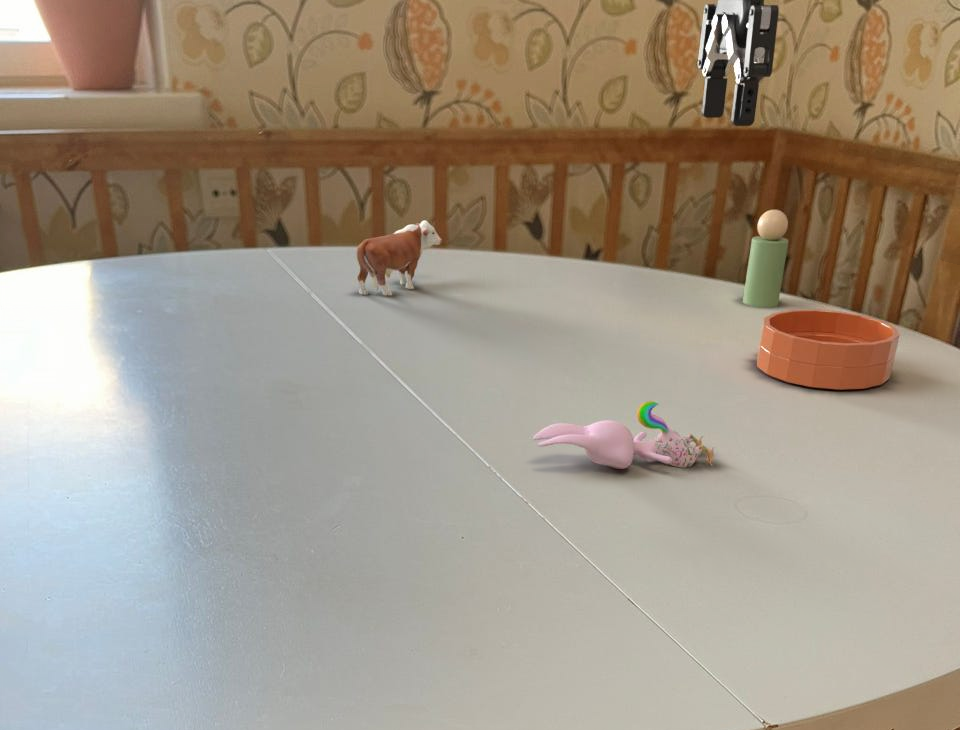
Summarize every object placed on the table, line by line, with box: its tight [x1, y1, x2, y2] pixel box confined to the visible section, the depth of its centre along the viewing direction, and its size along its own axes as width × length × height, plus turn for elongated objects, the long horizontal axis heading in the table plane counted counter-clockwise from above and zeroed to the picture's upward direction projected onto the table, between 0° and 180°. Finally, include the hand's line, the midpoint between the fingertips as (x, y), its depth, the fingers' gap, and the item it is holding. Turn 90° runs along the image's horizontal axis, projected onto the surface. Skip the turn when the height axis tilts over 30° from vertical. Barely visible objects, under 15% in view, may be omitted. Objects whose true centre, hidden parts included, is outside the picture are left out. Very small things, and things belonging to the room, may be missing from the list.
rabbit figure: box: [532, 400, 716, 470], centre depth 84 cm, size 6×6×15 cm
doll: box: [742, 209, 789, 308], centre depth 130 cm, size 4×4×11 cm
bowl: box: [756, 308, 901, 391], centre depth 107 cm, size 13×13×5 cm
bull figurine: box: [356, 219, 443, 297], centre depth 133 cm, size 4×13×8 cm, turn 137°
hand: (726, 121), depth 109 cm, fingers open, 8 cm apart
